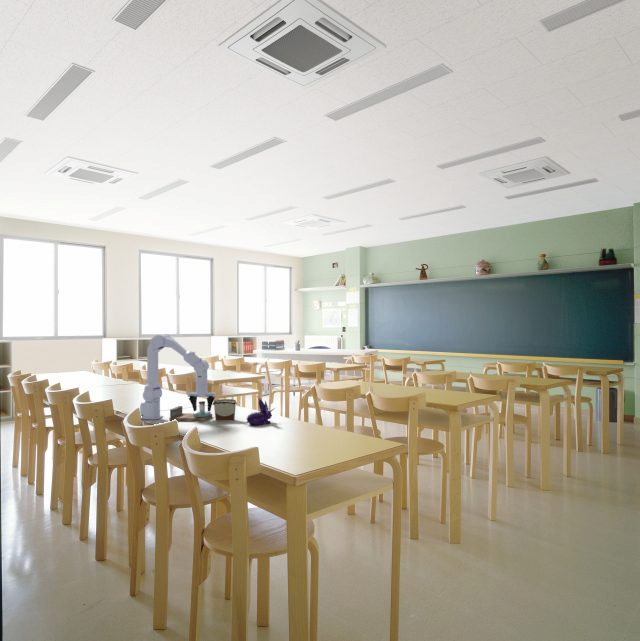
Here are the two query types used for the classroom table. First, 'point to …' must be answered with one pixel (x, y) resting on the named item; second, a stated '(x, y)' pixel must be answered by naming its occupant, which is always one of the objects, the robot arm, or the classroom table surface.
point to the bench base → (185, 415)
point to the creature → (260, 415)
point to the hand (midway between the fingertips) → (202, 410)
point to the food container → (225, 409)
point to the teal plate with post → (202, 410)
